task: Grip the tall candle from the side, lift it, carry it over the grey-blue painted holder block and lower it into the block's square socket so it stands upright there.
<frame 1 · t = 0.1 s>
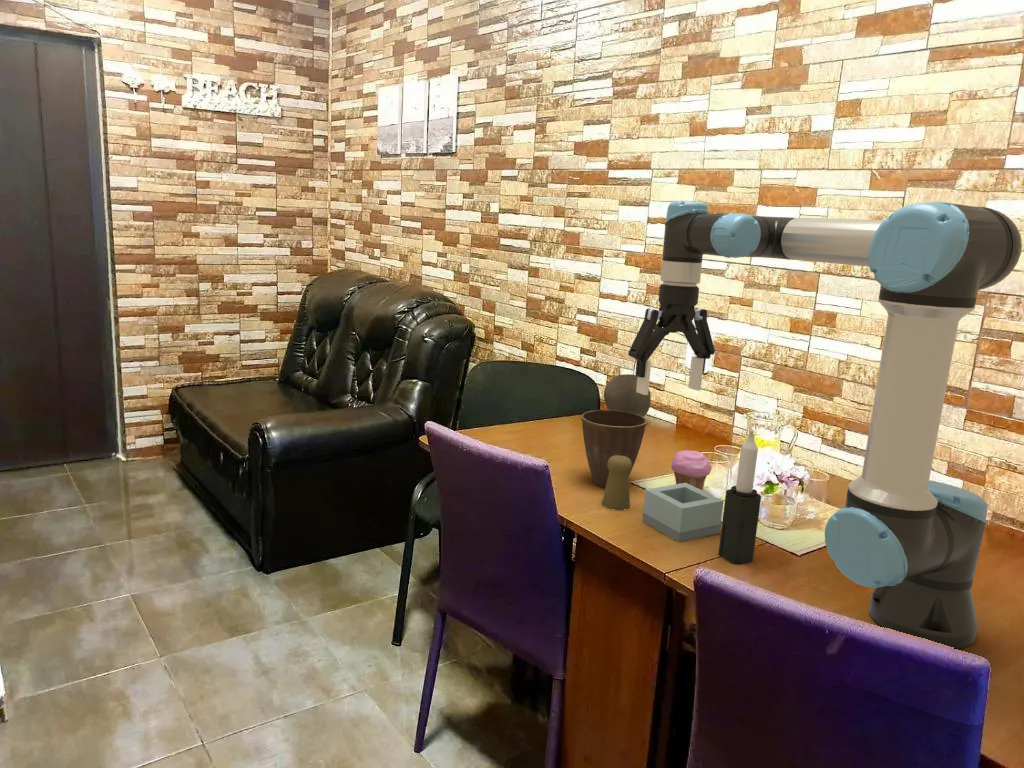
hand: (668, 391, 148), 28 cm above the table, tool pointing down, fingers open, 13 cm apart
cupcake: (687, 493, 173), on the table
olive pawn: (615, 505, 162), on the table
candle: (735, 558, 140), on the table
plant pot: (608, 483, 176), on the table
holder: (680, 527, 152), on the table
dark grey round ball: (625, 422, 231), on the table
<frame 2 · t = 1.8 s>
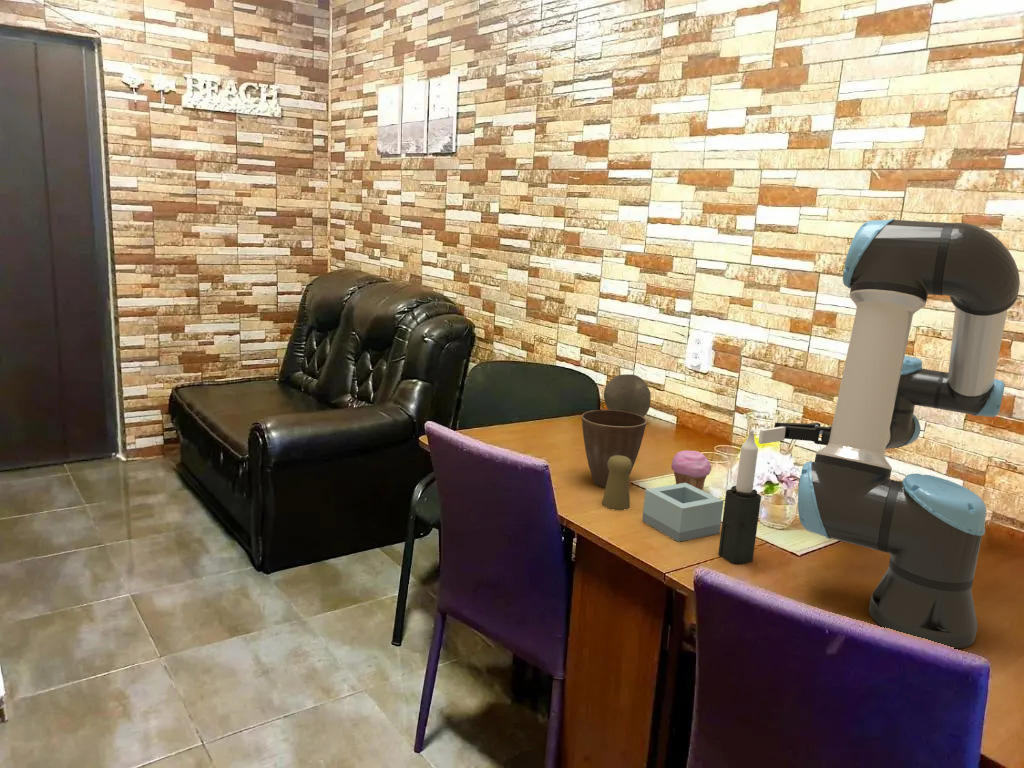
hand: (788, 446, 140), 20 cm above the table, tool horizontal, fingers open, 13 cm apart
nothing on the table moved.
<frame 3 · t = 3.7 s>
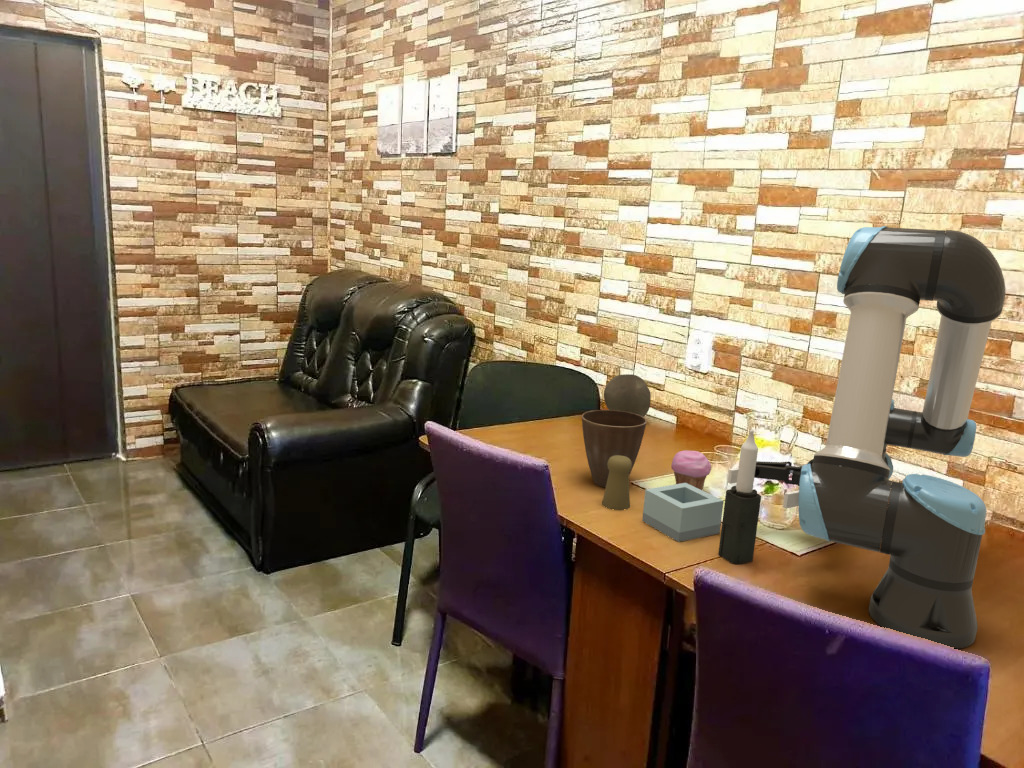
hand: (756, 488, 139), 13 cm above the table, tool horizontal, fingers open, 13 cm apart
nothing on the table moved.
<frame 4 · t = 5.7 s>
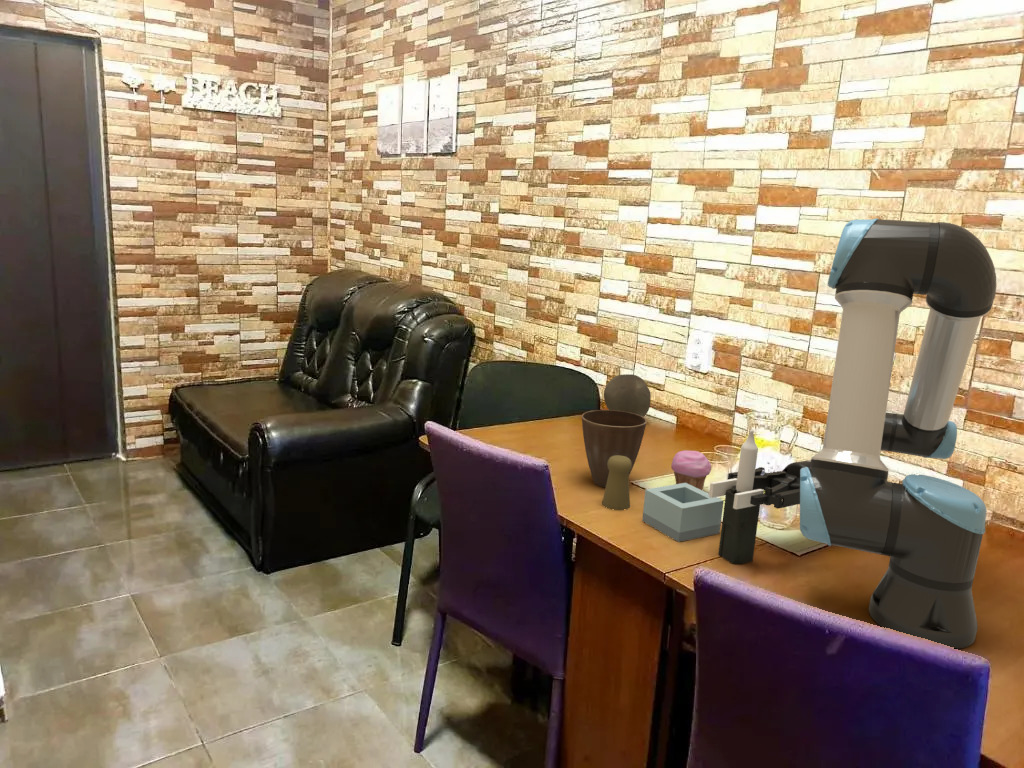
hand: (723, 495, 134), 13 cm above the table, tool horizontal, fingers closed on candle, 5 cm apart
candle: (735, 558, 140), on the table, touching gripper
everything else where it was.
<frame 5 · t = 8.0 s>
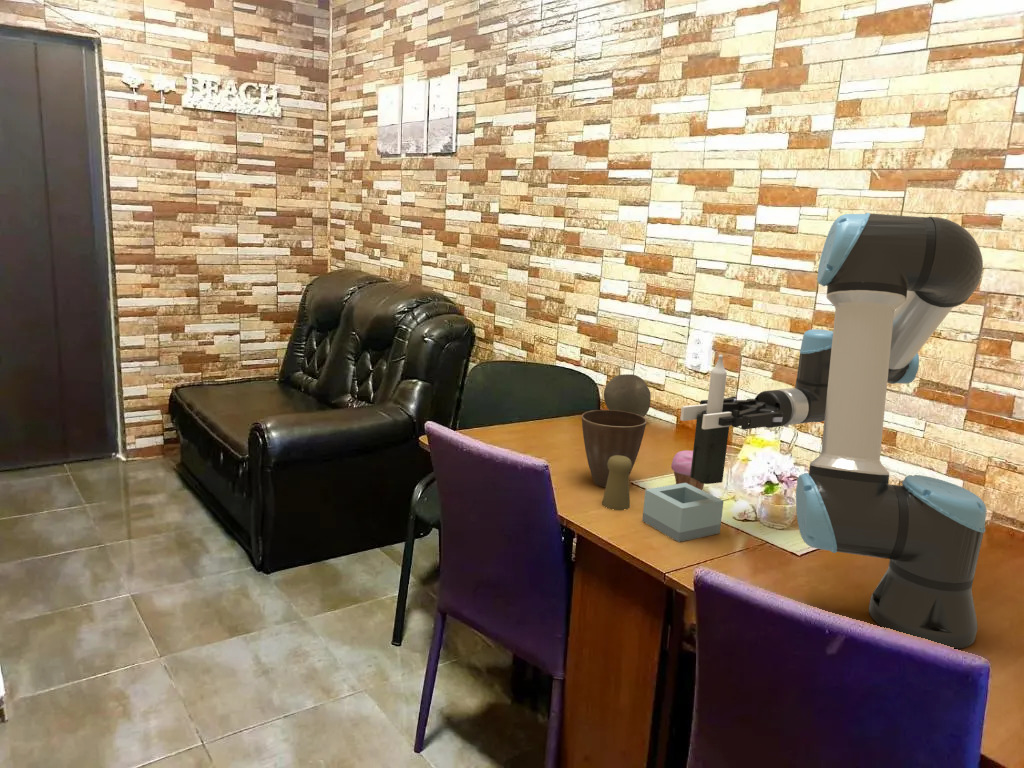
hand: (693, 417, 141), 25 cm above the table, tool horizontal, fingers closed on candle, 5 cm apart
candle: (706, 479, 147), point 11 cm above the table, touching gripper
everything else where it was.
when the fingers open (16 cm above the table, at t = 10.6 s): candle stays where it is, resting on holder.
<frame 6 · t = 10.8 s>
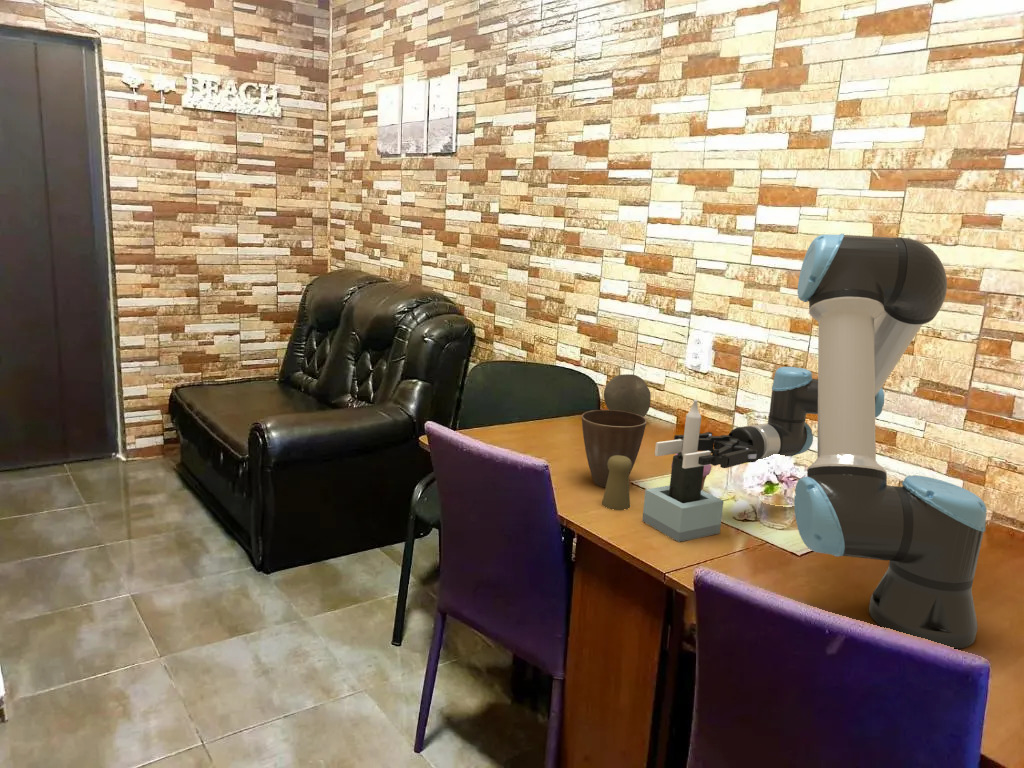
hand: (670, 455, 146), 16 cm above the table, tool horizontal, fingers open, 7 cm apart
candle: (681, 518, 152), point 2 cm above the table, touching holder
everything else where it was.
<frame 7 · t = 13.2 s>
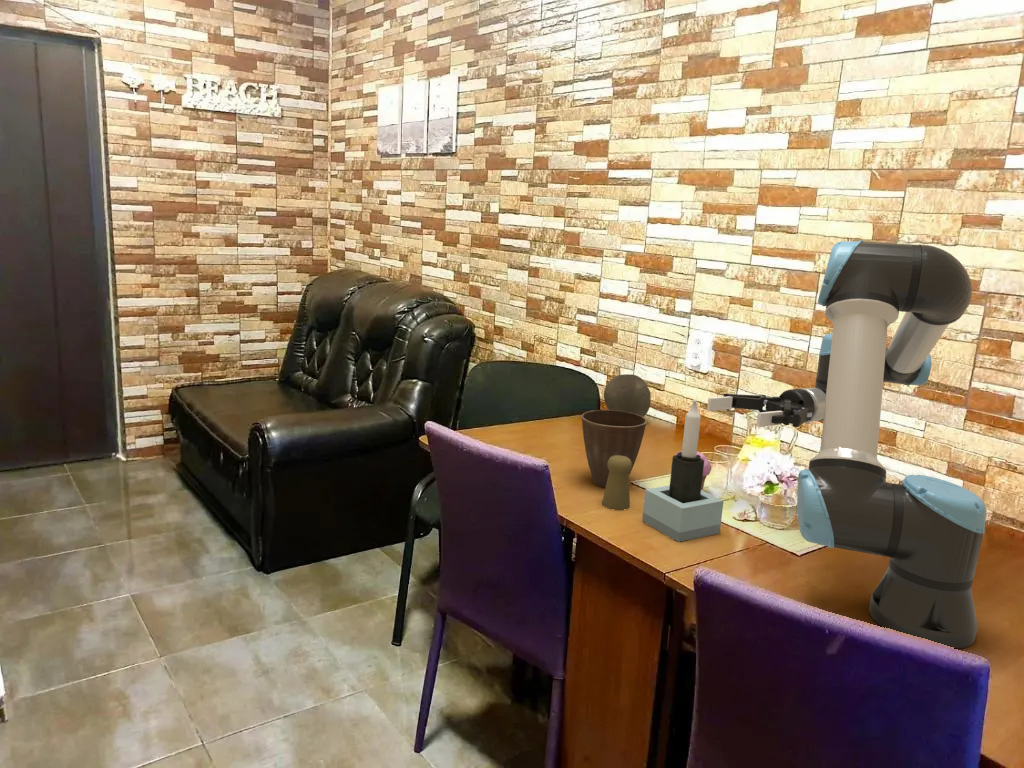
hand: (732, 411, 153), 23 cm above the table, tool horizontal, fingers open, 13 cm apart
nothing on the table moved.
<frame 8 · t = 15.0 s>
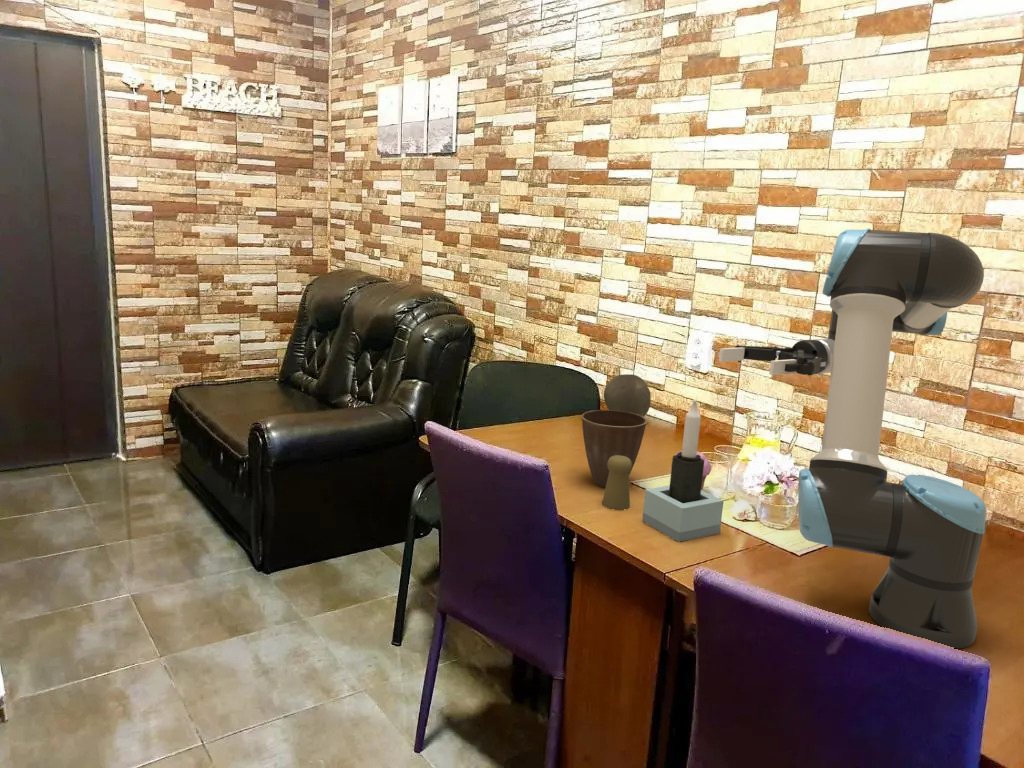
hand: (745, 361, 151), 34 cm above the table, tool horizontal, fingers open, 13 cm apart
nothing on the table moved.
at the end: candle 0.1 cm off-centre on the holder, point 1.8 cm above the holder's base; candle tilted 0°; the gripper is holding nothing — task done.
